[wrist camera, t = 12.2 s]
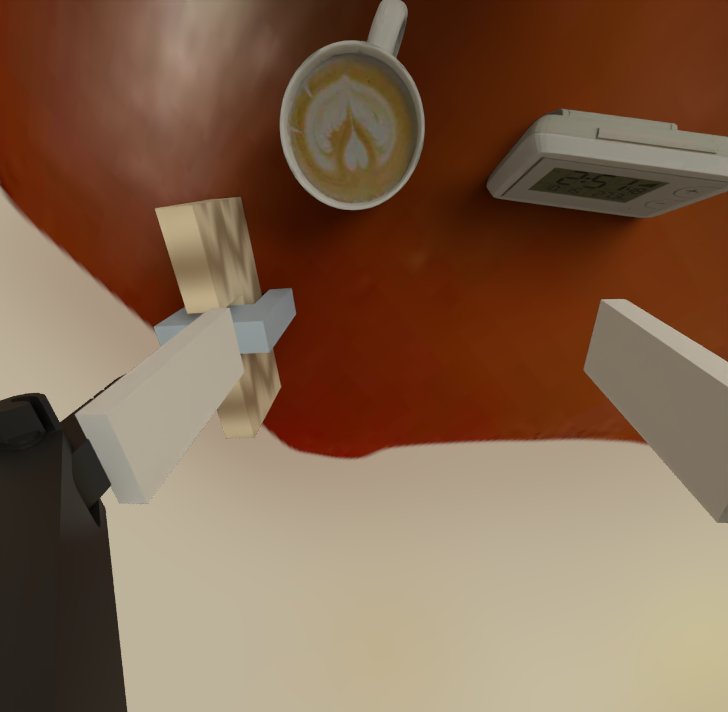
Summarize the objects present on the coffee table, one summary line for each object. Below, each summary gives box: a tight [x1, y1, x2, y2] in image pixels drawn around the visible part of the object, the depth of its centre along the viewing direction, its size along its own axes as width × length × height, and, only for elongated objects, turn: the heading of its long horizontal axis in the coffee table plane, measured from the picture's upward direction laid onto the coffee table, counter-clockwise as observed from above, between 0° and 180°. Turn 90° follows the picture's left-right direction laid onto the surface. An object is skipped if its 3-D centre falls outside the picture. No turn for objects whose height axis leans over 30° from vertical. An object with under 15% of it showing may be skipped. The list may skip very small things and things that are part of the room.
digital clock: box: [486, 109, 728, 218], centre depth 29 cm, size 16×9×11 cm, turn 72°
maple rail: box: [155, 197, 281, 439], centre depth 38 cm, size 22×3×10 cm, turn 5°
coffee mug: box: [280, 0, 425, 210], centre depth 29 cm, size 13×10×10 cm
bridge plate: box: [154, 288, 296, 354], centre depth 38 cm, size 3×10×10 cm, turn 95°
